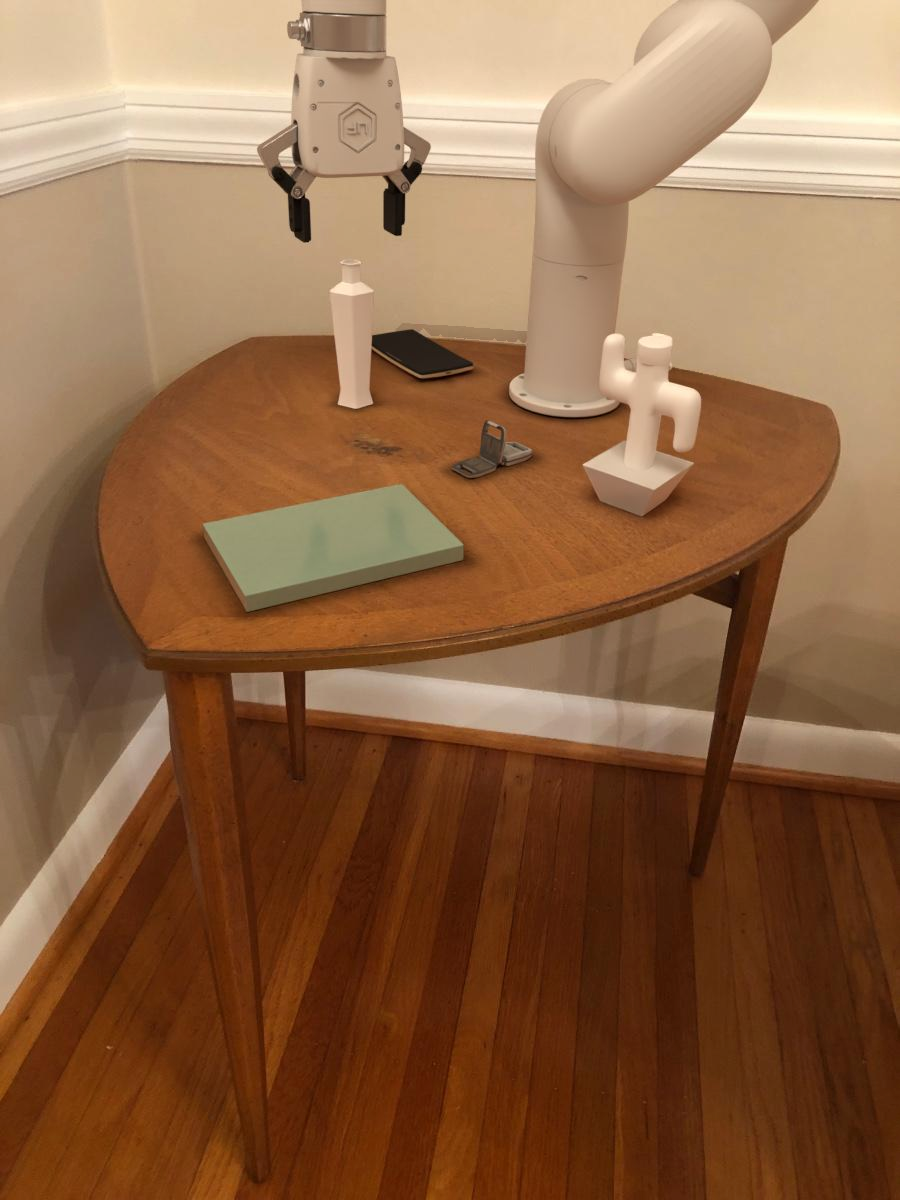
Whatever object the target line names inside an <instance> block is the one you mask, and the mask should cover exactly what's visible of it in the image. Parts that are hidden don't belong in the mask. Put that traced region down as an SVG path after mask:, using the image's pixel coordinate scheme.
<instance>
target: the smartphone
mask: <svg viewBox="0 0 900 1200" xmlns="http://www.w3.org/2000/svg"><path fill="white" fill-rule="evenodd" d="M371 351H374V352H375V353H377V354H378V355H380V356H381V357H382V358H384V359H386V360H387V361H388V362H390V363H392V364H394V365H395V366H397V367H399V368H400V369H402V370H404V371H405V372H407V373H409V374H411V375H413V376H415V377H417V378H418V379H430V378H439V377H444V376H451V375H455V374H460V373H463V372H467V371H470V370H473V369H474V363H473V362H472V361H471V360H468V359H466V358H464V357H463V356H460V355H458V354H457V353H455V352H453V351H452V350H450V349H448V348H447V347H444V346H442V345H440V344H439V343H437V342H435V341H434V340H432V339H431V338H429V337H427V336H425V335H423V334H422V333H420V332H419V331H417V330H415V329H414V328H413V329H411V328H410V329H403V330H396V331H389V332H384V333H376V334H372V346H371Z"/></svg>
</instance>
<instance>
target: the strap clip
mask: <svg viewBox="0 0 900 1200" xmlns="http://www.w3.org/2000/svg"><path fill="white" fill-rule="evenodd" d="M490 426H491V427H493V428H495V429H497V430H499V431H500V437H497V436H495V435H493V434H491V433H489V428H490ZM479 455H480V456H474V457H471V458H467V459H464V460H461V461H458V462H456V463H454V464H452V465H451V470H452V471H455V472H457V473H459V474H461V475H462V476H463V477H466V478H470V479H472V478H480V477H483V476H485V475H488V474H490V473H493V472H495V471H496V470H497V467H498V466H499V465H501V466H504V467H510V466H513V465H517V464H521V463H523V462H526V461H528V460H529V459H530V458H531V457H532V456H533V449H532V448H530V447H528V446H526V445H524V444H521V443H519V442H516V441H507V431H506V428H505V427H504V426H502V425H499V424H498V423H495V422H494V421H491V420H488V419H487V420H485V421H484V423H483V426H482V429H481V436H480V446H479ZM463 469H465V470H467V471H469V472H467V471H465V470H463ZM470 472H471V473H470Z"/></svg>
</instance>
